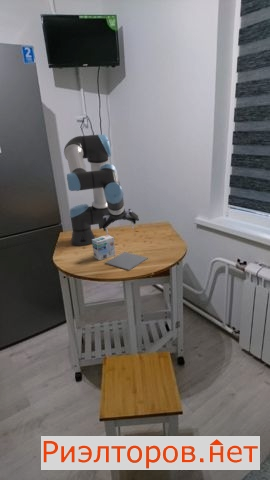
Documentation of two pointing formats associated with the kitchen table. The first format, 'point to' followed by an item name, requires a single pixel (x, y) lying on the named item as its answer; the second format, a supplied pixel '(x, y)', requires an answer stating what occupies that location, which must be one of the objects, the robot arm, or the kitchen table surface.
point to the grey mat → (126, 261)
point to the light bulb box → (103, 247)
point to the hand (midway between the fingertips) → (120, 229)
